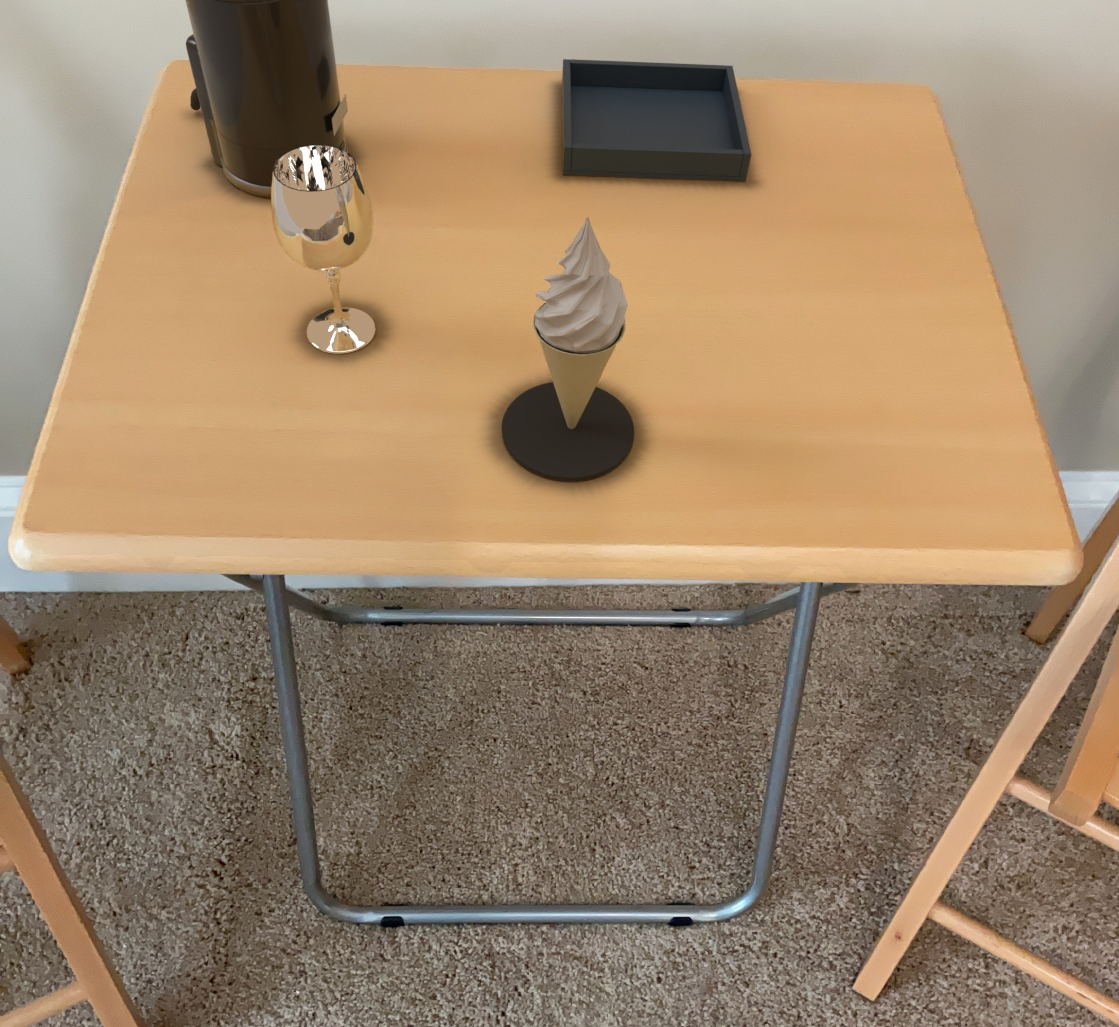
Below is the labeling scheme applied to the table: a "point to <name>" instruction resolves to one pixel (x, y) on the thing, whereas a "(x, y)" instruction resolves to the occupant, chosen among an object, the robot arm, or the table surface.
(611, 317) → the ice cream cone
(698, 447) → the table surface
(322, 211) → the wineglass
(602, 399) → the coaster
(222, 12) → the robot arm
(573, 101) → the tray
